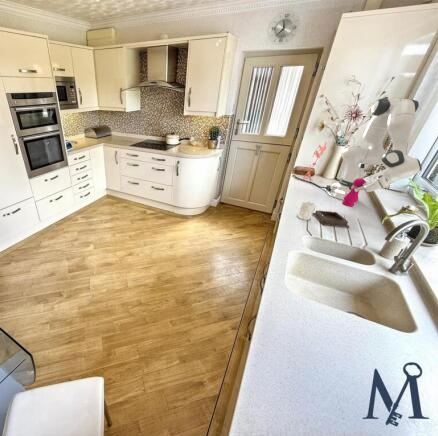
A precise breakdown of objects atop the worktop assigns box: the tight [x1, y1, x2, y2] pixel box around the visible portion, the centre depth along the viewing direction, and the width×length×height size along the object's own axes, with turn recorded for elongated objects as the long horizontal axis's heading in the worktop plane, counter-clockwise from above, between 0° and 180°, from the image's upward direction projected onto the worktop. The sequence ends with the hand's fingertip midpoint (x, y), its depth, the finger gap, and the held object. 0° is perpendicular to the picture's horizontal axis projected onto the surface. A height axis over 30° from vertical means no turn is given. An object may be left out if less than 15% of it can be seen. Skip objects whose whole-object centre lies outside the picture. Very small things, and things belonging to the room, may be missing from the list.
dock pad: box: [311, 209, 350, 228], centre depth 152 cm, size 15×15×4 cm
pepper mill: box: [341, 176, 366, 208], centre depth 151 cm, size 7×7×20 cm
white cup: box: [297, 200, 317, 221], centre depth 152 cm, size 8×8×10 cm
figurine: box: [302, 141, 328, 182], centre depth 212 cm, size 15×26×35 cm, turn 148°
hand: (354, 189), depth 150 cm, fingers closed on pepper mill, 5 cm apart
